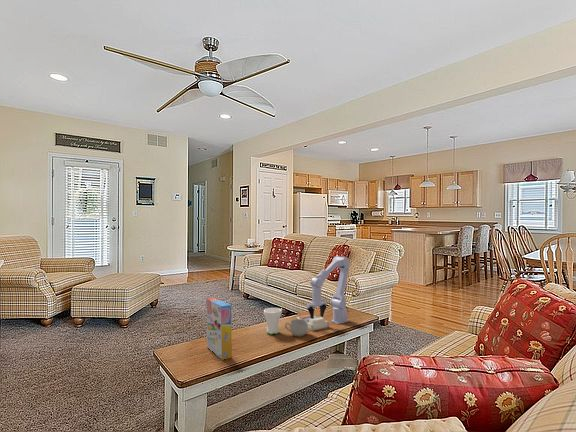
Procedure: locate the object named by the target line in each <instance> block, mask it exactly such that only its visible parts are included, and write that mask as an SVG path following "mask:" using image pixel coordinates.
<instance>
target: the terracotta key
mask: <svg viewBox="0 0 576 432" xmlns="http://www.w3.org/2000/svg"><path fill="white" fill-rule="evenodd" d="M298 317H299V318H300V319H305V318H310V313H308V314H305V315H300V316H298Z"/></svg>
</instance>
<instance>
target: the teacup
mask: <svg viewBox="0 0 576 432" xmlns="http://www.w3.org/2000/svg"><path fill="white" fill-rule="evenodd" d="M287 325H289V327H290V328H289V327H287ZM284 328H285V329H286V330H287V331H288V332H289V333H291V334H292V335H293V336H294V337H299V338H300V337H303V336H305V335H307V333H308V330H309V329H308V322H307V321H306V320H303V319H296V318H294V319H292V320H290V322H286V323H285V324H284Z"/></svg>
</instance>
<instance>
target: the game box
mask: <svg viewBox="0 0 576 432" xmlns="http://www.w3.org/2000/svg"><path fill="white" fill-rule="evenodd" d="M205 305H206V306H205V307H206V309H205V310H206V313H205V314H206V315H205V316H206V348H207V347H208V348H209V349H210V350H209V349H208V348H207V349H208V350H209V351H210V352H212V351H213V352H214V353H215V354H216V355H215V354H214V353H213V352H212V353H213V354H214V355H215V356H217V357H218V358H219V359H220V360H221V361H225V360H228V359H231V358H232V357H233V354H232V352H233V351H232V347H233V345H232V344H233V343H232V342H233V341H232V305H231V304H230V303H228V302H225V301H223V300H221V299H219V298H217V297H208V298H206V299H205ZM224 359H225V360H224Z"/></svg>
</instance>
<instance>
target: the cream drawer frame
mask: <svg viewBox="0 0 576 432" xmlns="http://www.w3.org/2000/svg"><path fill="white" fill-rule="evenodd" d="M315 316H316V315H314V317H315ZM295 319H300V318H299V316H297V317H295ZM303 320H304V319H303ZM329 327H330V322H329V321H328V320H325V322H323V323H318V324H313V325H312V324H310V323H309V322H308V330H309V331H311V332H314V331H315V332H316V331H319V330H325V329H328V328H329Z"/></svg>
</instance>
